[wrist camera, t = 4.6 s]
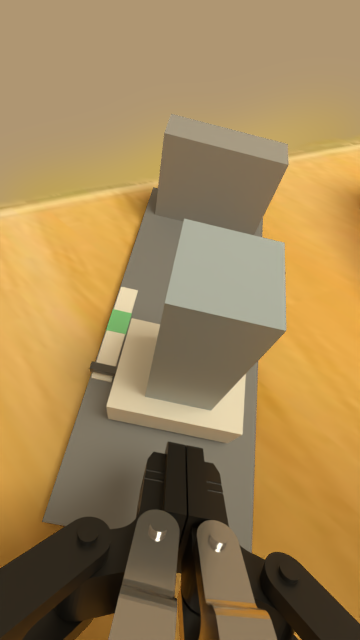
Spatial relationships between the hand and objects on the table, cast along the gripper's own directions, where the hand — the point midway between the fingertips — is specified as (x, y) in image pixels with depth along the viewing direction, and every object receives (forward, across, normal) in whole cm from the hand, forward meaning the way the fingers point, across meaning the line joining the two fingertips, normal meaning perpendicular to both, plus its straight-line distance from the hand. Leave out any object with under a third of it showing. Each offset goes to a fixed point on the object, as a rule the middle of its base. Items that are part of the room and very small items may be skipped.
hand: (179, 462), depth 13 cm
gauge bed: (+14, 0, -2) cm, 15 cm away
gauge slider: (+12, +1, -2) cm, 12 cm away
